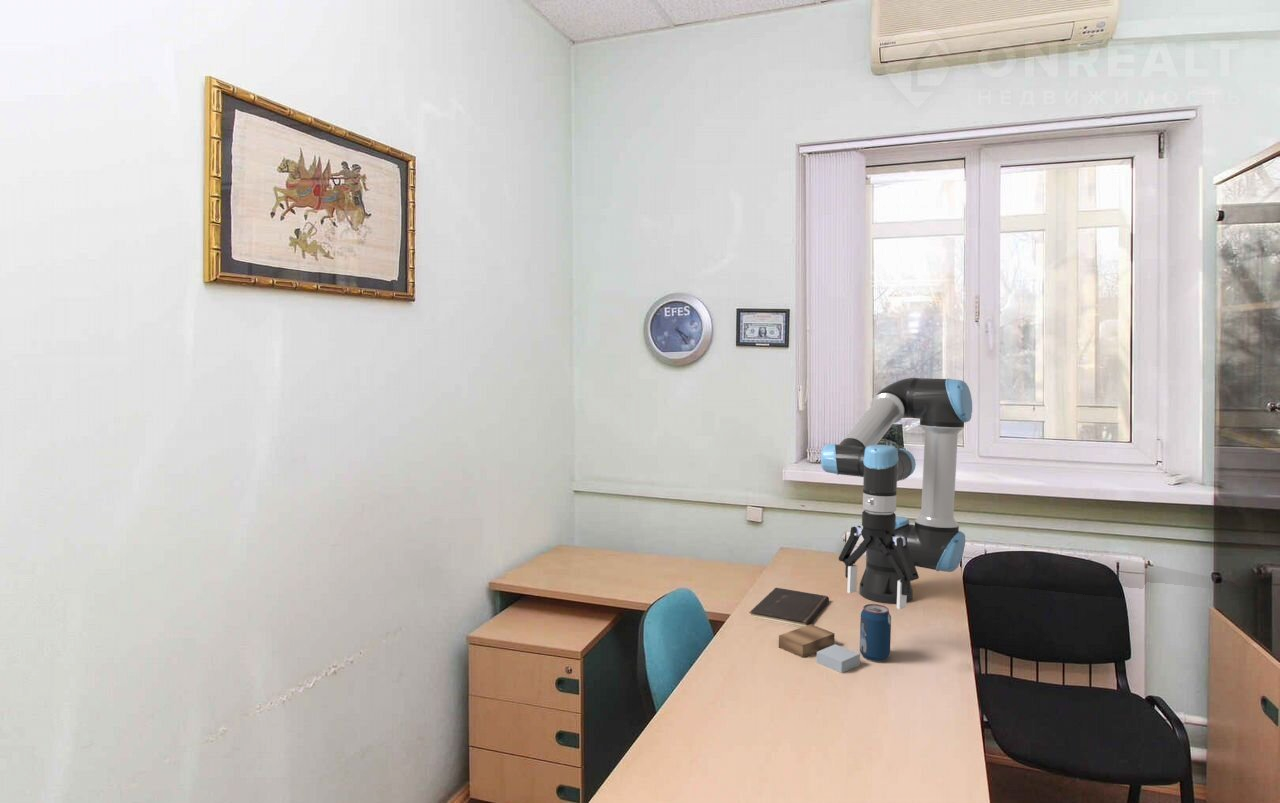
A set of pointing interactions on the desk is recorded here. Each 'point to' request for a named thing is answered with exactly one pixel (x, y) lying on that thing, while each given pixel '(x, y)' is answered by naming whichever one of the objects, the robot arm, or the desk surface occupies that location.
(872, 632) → the soda can
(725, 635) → the desk surface
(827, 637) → the walnut block
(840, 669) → the slate block
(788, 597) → the hardcover book
